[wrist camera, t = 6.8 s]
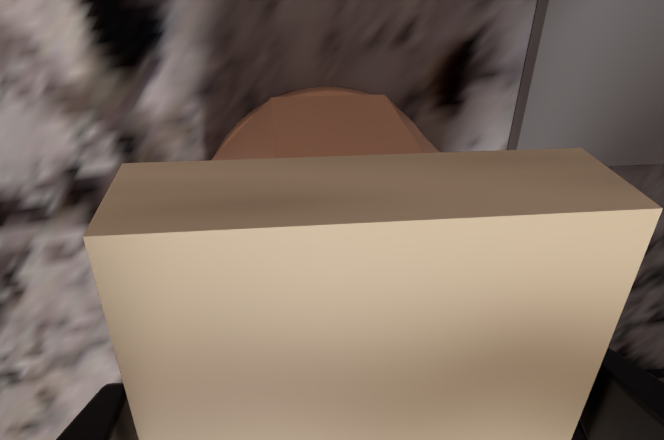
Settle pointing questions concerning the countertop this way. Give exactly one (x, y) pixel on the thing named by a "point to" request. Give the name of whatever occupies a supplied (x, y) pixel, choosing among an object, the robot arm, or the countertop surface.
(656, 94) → the mat
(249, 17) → the countertop surface
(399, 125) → the bowl
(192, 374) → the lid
